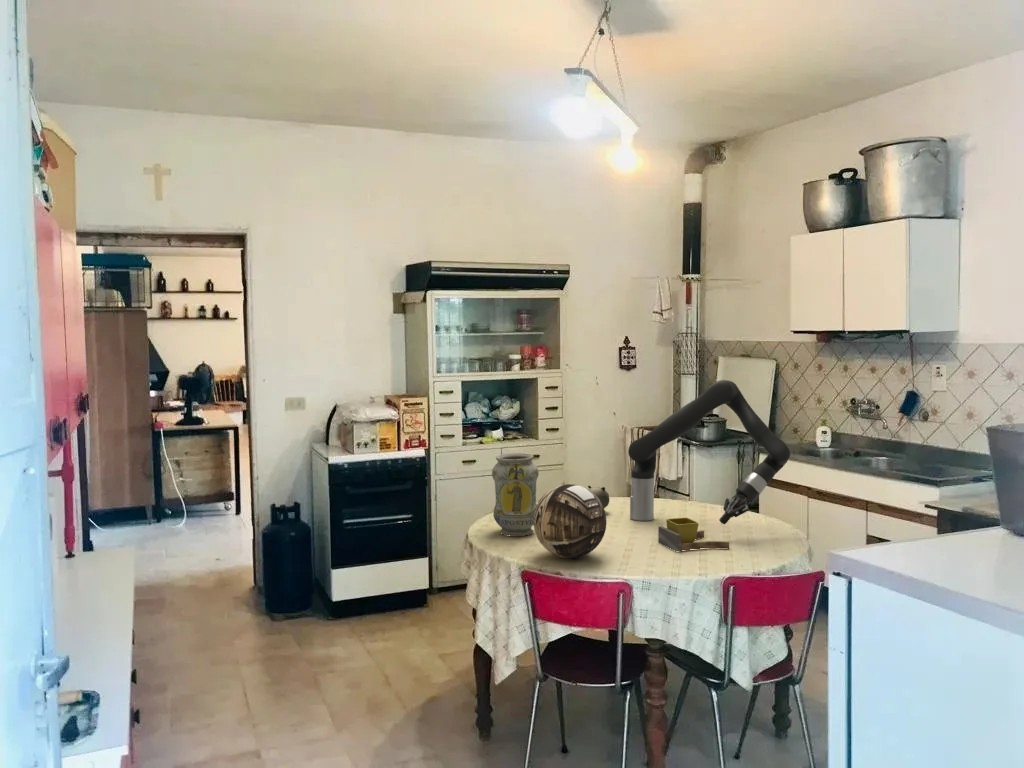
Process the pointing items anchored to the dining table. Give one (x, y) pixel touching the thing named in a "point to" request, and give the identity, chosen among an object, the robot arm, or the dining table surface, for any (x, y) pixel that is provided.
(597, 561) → the dining table surface
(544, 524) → the sphere
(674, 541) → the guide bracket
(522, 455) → the vase
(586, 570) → the dining table surface
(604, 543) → the dining table surface
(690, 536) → the flower pot
